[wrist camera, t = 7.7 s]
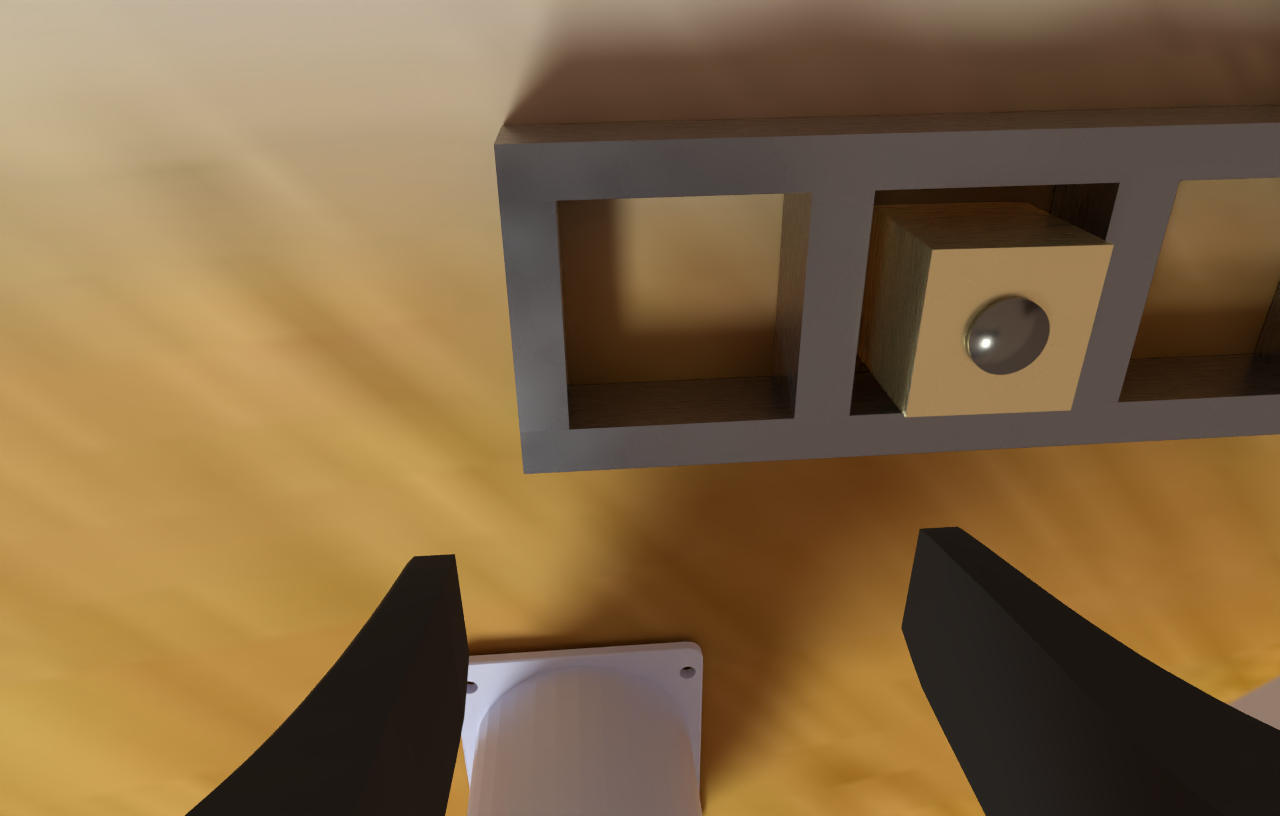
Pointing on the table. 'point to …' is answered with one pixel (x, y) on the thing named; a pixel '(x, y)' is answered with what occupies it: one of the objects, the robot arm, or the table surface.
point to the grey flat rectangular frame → (835, 276)
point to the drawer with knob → (978, 307)
